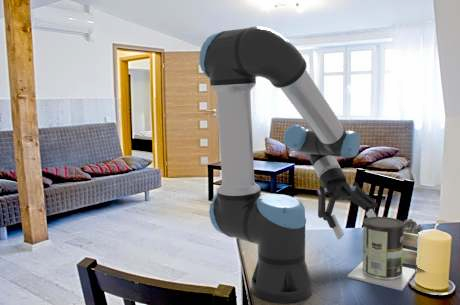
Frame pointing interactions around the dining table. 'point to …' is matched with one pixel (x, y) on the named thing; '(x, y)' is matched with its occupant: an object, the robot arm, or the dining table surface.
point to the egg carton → (411, 227)
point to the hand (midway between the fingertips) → (360, 233)
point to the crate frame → (409, 255)
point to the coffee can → (382, 248)
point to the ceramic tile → (395, 284)
